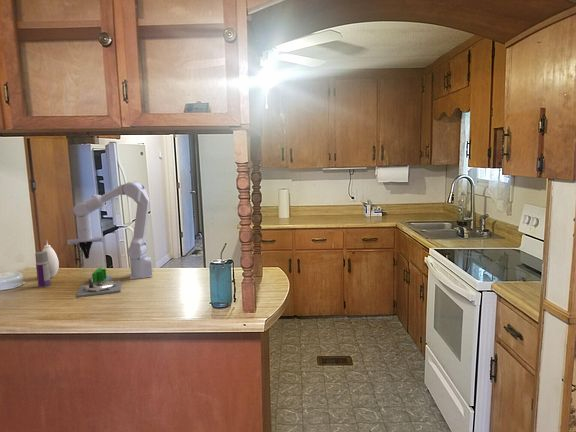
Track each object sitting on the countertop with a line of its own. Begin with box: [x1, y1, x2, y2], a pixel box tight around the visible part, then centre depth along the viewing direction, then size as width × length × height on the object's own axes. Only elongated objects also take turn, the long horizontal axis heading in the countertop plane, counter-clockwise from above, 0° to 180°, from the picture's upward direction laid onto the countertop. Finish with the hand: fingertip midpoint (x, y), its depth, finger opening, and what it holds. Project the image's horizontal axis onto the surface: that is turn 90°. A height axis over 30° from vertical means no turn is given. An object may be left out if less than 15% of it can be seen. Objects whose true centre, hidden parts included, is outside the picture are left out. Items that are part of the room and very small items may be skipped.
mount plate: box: [76, 280, 122, 298], centre depth 171 cm, size 16×15×1 cm
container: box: [34, 251, 52, 289], centre depth 177 cm, size 5×5×15 cm
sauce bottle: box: [41, 240, 60, 279], centre depth 190 cm, size 8×8×18 cm
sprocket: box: [83, 278, 116, 292], centre depth 171 cm, size 12×12×4 cm
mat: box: [104, 275, 112, 281], centre depth 185 cm, size 7×13×1 cm, turn 22°
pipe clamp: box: [91, 267, 107, 283], centre depth 185 cm, size 11×4×5 cm, turn 10°
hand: (87, 258), depth 188 cm, fingers closed
